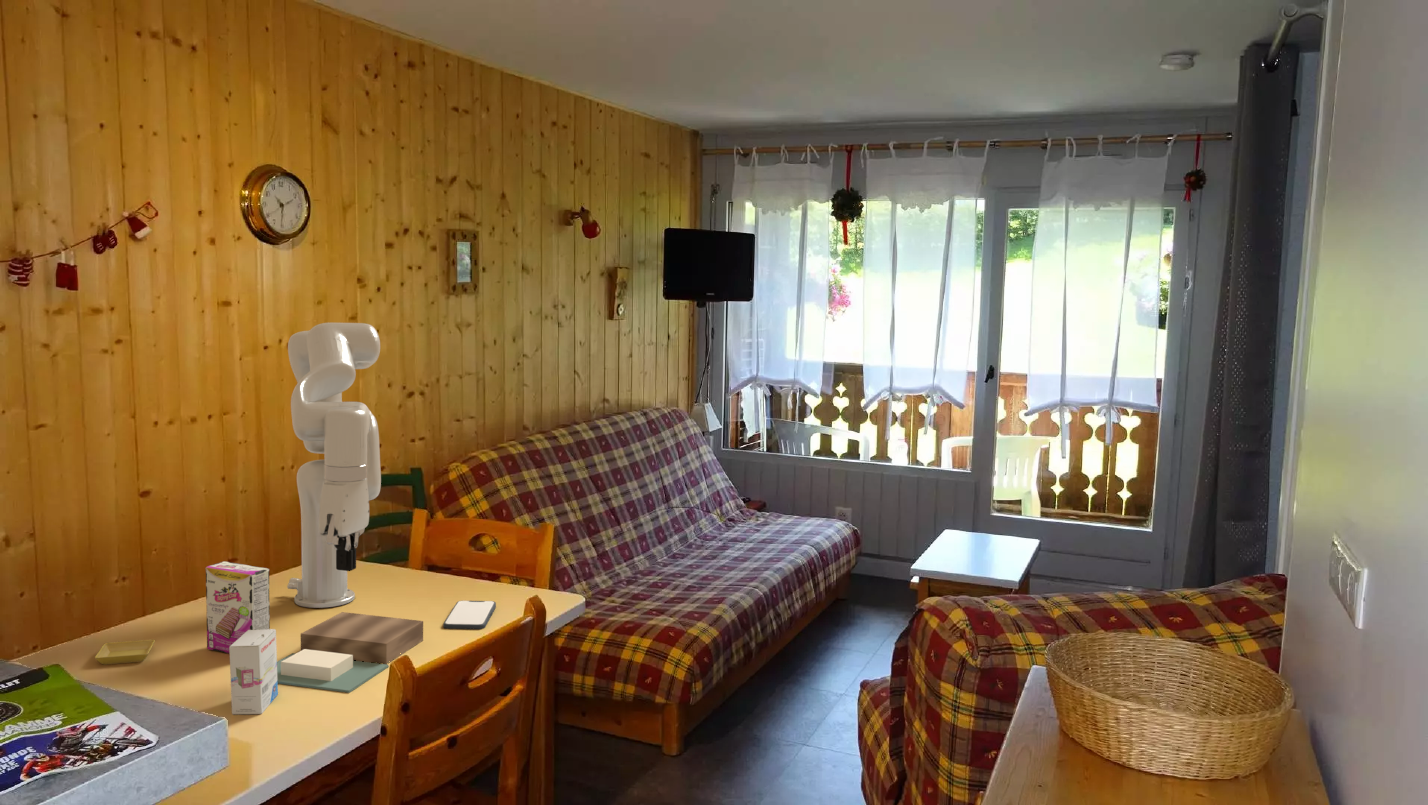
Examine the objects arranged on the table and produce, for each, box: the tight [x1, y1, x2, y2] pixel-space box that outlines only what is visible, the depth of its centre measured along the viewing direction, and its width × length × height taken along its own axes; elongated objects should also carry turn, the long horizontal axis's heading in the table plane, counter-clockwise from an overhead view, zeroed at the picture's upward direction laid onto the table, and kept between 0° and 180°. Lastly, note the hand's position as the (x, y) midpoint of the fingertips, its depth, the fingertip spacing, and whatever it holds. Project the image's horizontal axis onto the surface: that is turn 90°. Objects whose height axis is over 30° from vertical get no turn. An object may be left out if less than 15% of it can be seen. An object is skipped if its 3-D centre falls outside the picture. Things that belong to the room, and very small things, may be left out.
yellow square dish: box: [94, 639, 156, 665], centre depth 192 cm, size 9×9×2 cm
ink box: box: [229, 628, 279, 715], centre depth 172 cm, size 9×5×12 cm, turn 5°
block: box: [300, 611, 424, 665], centre depth 201 cm, size 18×14×4 cm
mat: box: [277, 652, 389, 694], centre depth 187 cm, size 20×13×1 cm, turn 78°
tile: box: [281, 649, 354, 681], centre depth 187 cm, size 10×7×2 cm
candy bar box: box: [205, 561, 271, 654], centre depth 196 cm, size 11×5×16 cm, turn 71°
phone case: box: [442, 600, 497, 630], centre depth 222 cm, size 9×2×16 cm
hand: (346, 569), depth 194 cm, fingers closed
